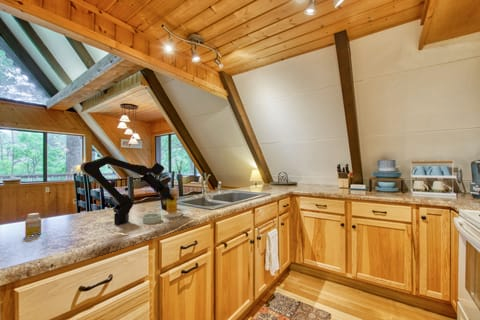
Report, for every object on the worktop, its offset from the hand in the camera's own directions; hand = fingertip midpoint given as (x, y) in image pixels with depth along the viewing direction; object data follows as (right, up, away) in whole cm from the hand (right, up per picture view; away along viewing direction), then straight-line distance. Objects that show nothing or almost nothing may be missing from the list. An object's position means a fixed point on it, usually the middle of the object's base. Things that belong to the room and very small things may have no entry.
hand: (171, 198), depth 136 cm
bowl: (-6, -11, -14) cm, 19 cm away
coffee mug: (-9, -11, +20) cm, 25 cm away
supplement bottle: (-54, -11, -33) cm, 64 cm away
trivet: (+1, -11, 0) cm, 11 cm away
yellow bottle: (0, -9, 0) cm, 9 cm away
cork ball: (-6, -10, -14) cm, 18 cm away
